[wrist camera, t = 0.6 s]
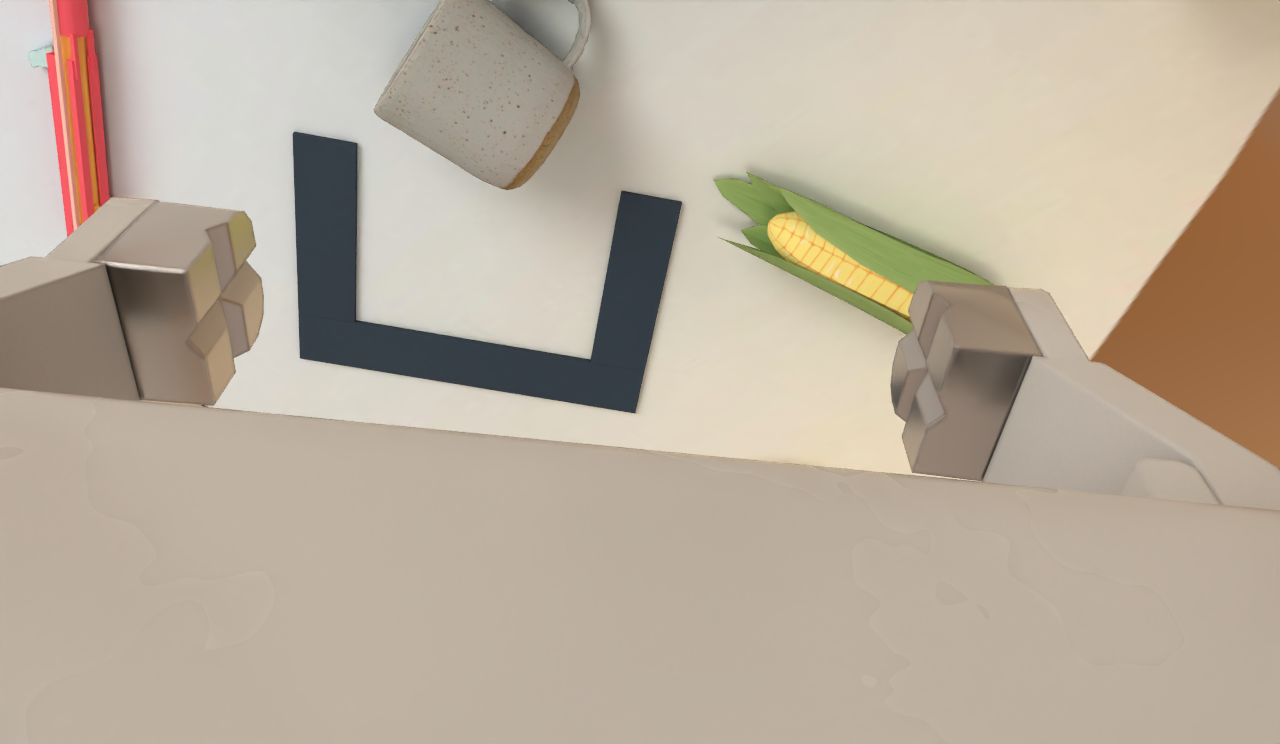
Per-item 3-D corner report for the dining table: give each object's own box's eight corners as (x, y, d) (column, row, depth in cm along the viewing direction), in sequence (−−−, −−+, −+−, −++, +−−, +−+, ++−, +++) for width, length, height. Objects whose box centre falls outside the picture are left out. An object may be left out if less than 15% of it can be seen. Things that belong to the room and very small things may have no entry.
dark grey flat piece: (294, 131, 54) (292, 133, 54) (681, 201, 56) (681, 203, 56) (301, 355, 63) (299, 358, 63) (635, 410, 65) (635, 413, 65)
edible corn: (973, 348, 61) (991, 392, 57) (691, 213, 56) (691, 251, 53) (1027, 285, 58) (1050, 327, 55) (735, 138, 54) (739, 172, 50)
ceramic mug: (520, 165, 55) (500, 227, 49) (391, 78, 52) (353, 131, 46) (632, 10, 50) (626, 57, 44) (496, -95, 47) (469, -62, 41)
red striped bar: (68, 226, 59) (132, 255, 59) (39, 239, 58) (105, 269, 57) (18, -221, 46) (101, -190, 45) (-22, -221, 44) (63, -189, 43)
